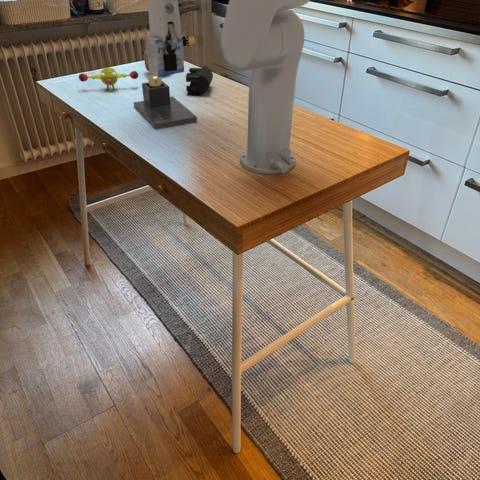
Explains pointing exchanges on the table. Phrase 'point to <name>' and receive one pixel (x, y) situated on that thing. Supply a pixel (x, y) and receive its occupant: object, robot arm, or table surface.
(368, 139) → the table surface
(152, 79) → the pin
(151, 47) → the medicine box
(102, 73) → the toy figure
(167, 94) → the grey stand
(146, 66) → the natural sponge
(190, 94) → the end cap
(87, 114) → the table surface
